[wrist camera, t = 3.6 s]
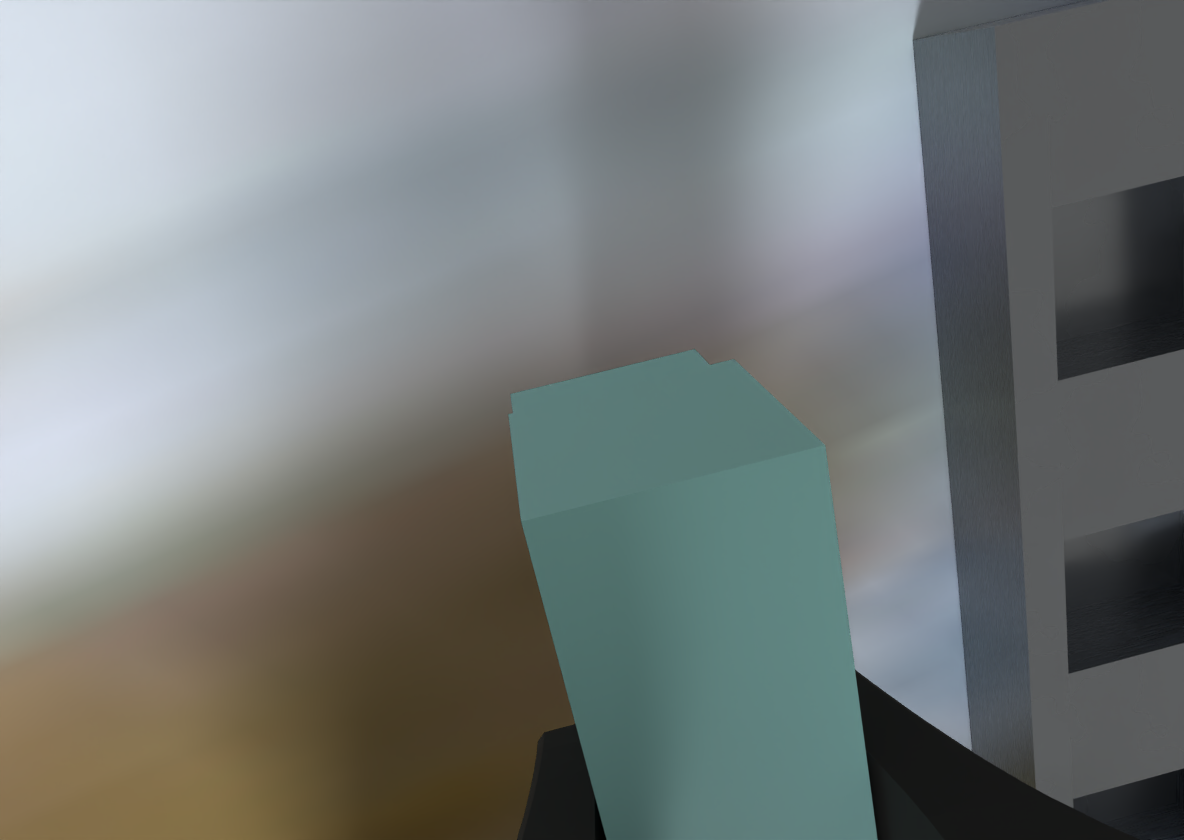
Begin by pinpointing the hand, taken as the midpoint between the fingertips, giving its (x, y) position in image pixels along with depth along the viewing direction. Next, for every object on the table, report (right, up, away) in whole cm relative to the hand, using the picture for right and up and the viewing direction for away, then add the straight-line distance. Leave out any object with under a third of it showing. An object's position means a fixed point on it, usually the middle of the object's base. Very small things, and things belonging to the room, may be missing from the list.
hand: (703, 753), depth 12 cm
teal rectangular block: (0, +1, +3) cm, 3 cm away
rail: (+10, +2, +10) cm, 15 cm away
